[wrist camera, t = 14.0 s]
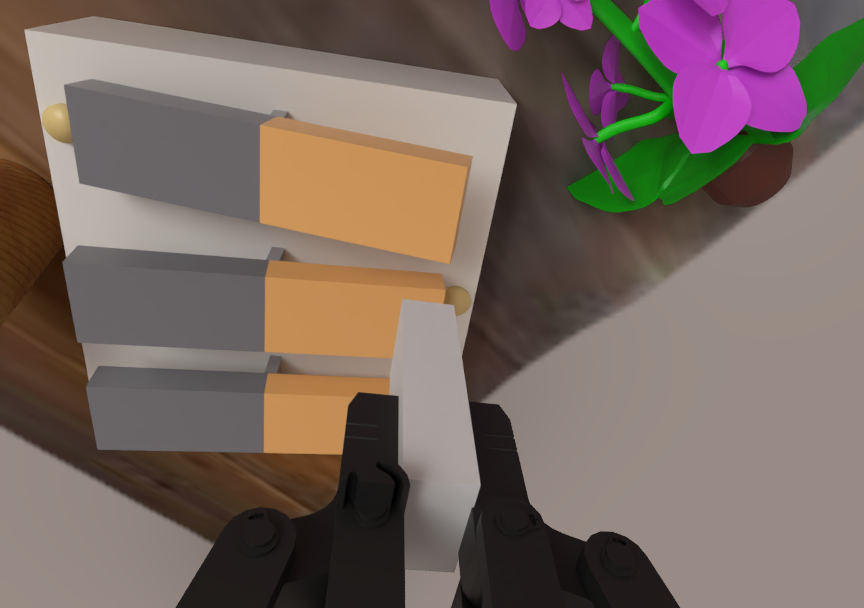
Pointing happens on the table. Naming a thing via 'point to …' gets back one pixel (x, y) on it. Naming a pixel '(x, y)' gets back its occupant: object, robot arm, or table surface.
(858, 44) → the potted plant
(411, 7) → the table surface
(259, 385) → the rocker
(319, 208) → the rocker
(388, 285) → the rocker mid
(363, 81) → the switch box
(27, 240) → the disposable coffee cup
